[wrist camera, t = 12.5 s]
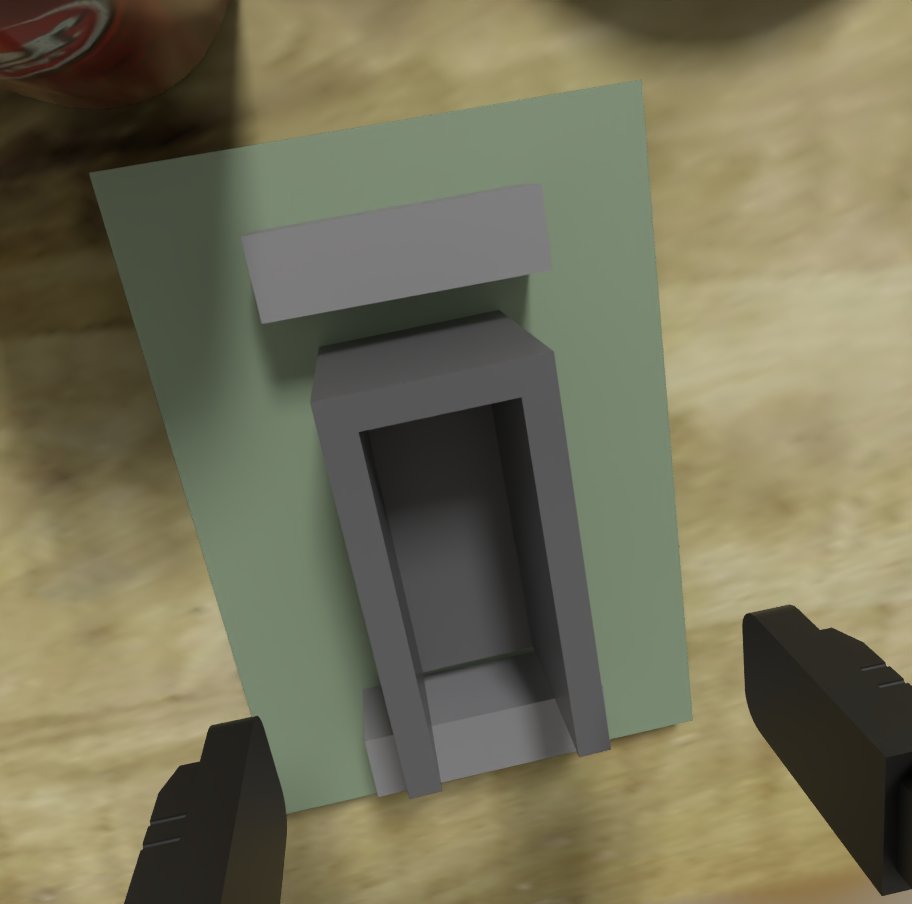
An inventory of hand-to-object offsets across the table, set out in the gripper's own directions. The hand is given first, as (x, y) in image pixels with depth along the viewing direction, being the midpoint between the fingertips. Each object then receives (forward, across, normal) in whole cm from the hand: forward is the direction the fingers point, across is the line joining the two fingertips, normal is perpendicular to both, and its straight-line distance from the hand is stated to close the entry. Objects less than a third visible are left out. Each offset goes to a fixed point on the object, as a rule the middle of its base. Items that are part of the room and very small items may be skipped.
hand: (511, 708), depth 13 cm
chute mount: (+12, 0, 0) cm, 12 cm away
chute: (+11, 0, +1) cm, 11 cm away
